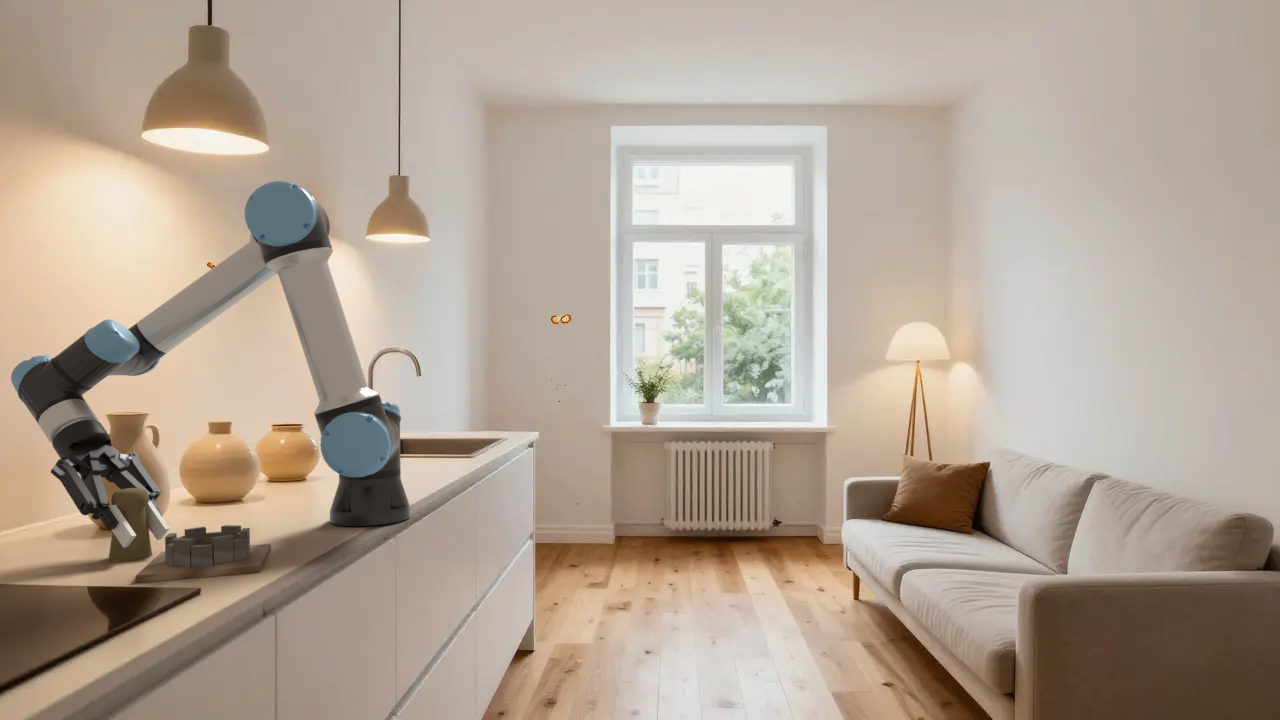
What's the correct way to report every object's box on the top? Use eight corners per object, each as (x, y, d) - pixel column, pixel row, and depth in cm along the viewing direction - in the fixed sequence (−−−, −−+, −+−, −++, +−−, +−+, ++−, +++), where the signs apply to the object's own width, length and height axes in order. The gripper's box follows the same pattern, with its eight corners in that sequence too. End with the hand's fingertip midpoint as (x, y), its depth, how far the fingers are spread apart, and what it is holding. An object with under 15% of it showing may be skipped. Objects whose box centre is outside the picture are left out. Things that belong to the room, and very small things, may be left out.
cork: (131, 561, 128) (131, 491, 128) (98, 560, 130) (98, 491, 130) (161, 553, 134) (160, 486, 134) (129, 551, 136) (129, 485, 136)
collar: (270, 549, 136) (270, 519, 136) (259, 572, 121) (259, 538, 121) (161, 558, 131) (161, 526, 131) (135, 582, 116) (135, 547, 116)
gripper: (116, 443, 146) (184, 541, 140) (7, 454, 129) (79, 566, 123) (137, 414, 144) (207, 512, 138) (29, 421, 127) (103, 533, 121)
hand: (146, 537), depth 131 cm, fingers closed on cork, 5 cm apart
